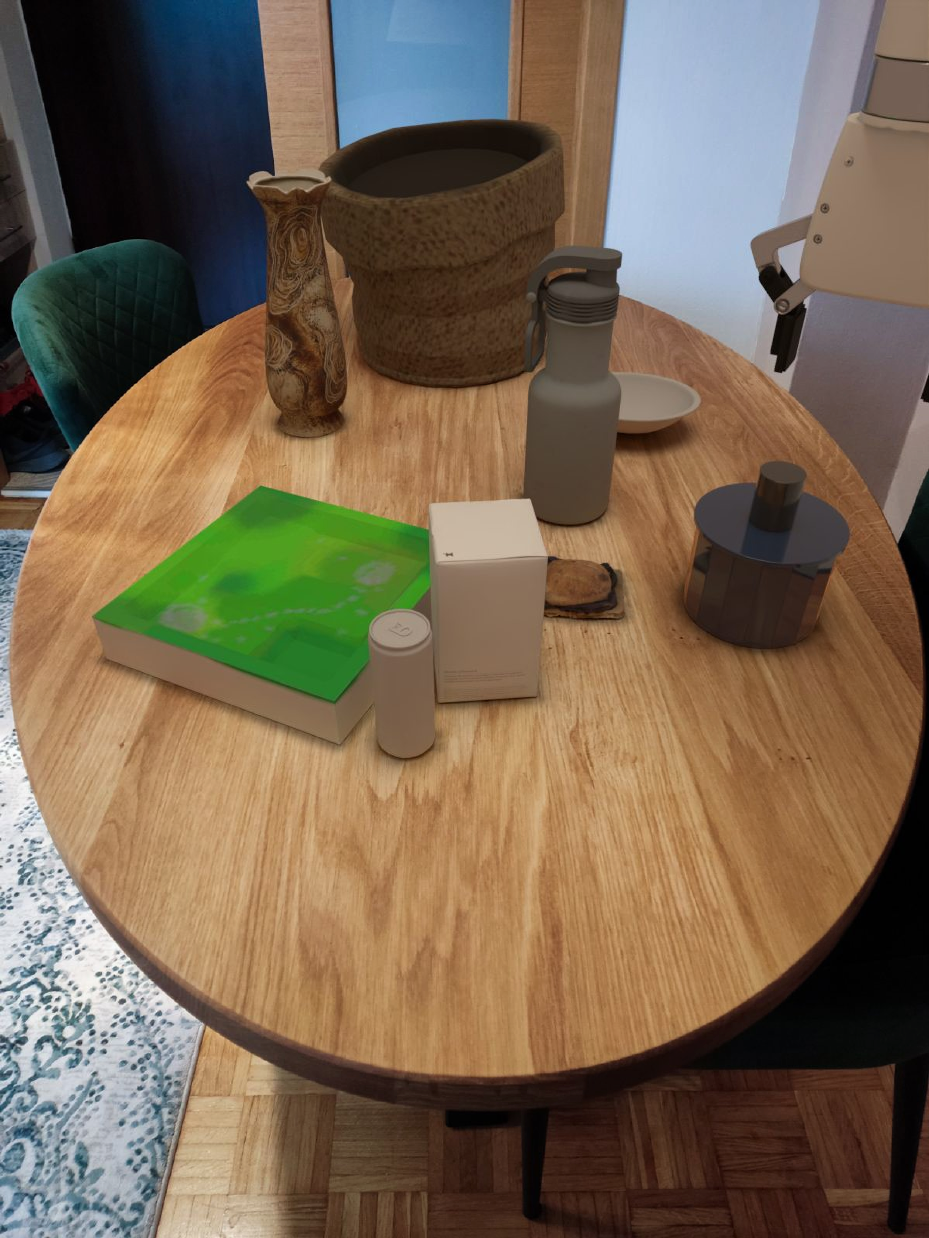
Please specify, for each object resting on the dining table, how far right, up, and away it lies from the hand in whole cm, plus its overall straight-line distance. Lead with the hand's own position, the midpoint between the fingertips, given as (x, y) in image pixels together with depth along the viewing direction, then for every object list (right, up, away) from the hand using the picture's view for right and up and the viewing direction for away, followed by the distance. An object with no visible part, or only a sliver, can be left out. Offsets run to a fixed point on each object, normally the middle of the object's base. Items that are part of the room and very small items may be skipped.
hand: (854, 380), depth 61 cm
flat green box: (-43, -17, +24) cm, 52 cm away
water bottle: (-16, -3, +41) cm, 44 cm away
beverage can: (-32, -27, +12) cm, 43 cm away
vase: (-47, +10, +57) cm, 75 cm away
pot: (-30, +25, +76) cm, 86 cm away
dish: (-6, +8, +55) cm, 56 cm away
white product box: (-25, -21, +19) cm, 38 cm away
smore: (-16, -14, +27) cm, 35 cm away
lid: (+1, -8, +20) cm, 21 cm away
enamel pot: (+1, -15, +26) cm, 30 cm away
